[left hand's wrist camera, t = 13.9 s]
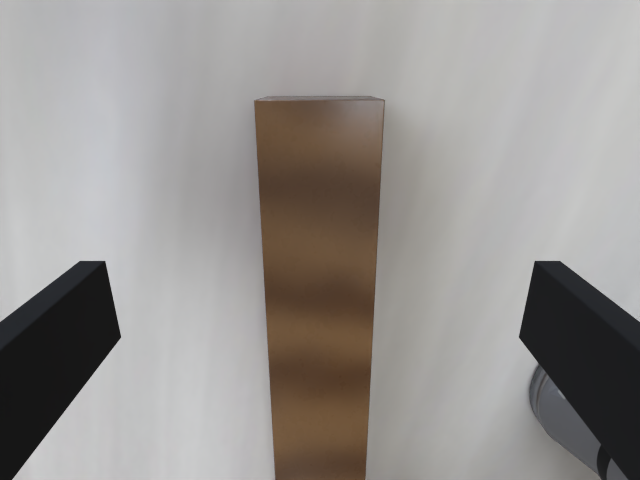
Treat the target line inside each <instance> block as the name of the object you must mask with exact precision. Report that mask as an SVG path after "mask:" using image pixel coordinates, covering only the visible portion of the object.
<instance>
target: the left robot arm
mask: <svg viewBox="0 0 640 480" xmlns="http://www.w3.org/2000/svg"><path fill="white" fill-rule="evenodd" d="M120 338H121V334H120V330H119V325H118V320H117V315H116V311H115V306H114V301H113V296H112V292H111V287H110V282H109V277H108V272H107V268H106V263H105V261H79V262H78V263H77V264H76V265H74V266H73V267H72V268H70V269H69V270H68V271H66V272H65V273H64V274H62V275H61V276H60V277H59V278H57V279H56V280H55V281H53V282H52V283H51V284H49V285H48V286H47V287H46V288H44V289H43V290H42V291H40V292H39V293H38V294H36V295H35V296H34V297H32V298H31V299H30V300H29V301H27V302H26V303H25V304H23V305H22V306H21V307H19V308H18V309H17V310H15V311H14V312H13V313H12V314H10V315H9V316H8V317H6V318H5V319H4V320H2V321H1V322H0V480H12V479H13V478H14V476H15V475H16V474H17V473H18V471H19V470H20V469H21V467H22V466H23V465H24V463H25V462H26V461H27V459H28V458H29V457H30V456H31V454H32V453H33V452H34V450H35V449H36V448H37V446H38V445H39V444H40V443H41V441H42V440H43V439H44V437H45V436H46V435H47V433H48V432H49V431H50V429H51V428H52V427H53V426H54V424H55V423H56V422H57V420H58V419H59V418H60V416H61V415H62V414H63V412H64V411H65V410H66V409H67V407H68V406H69V405H70V403H71V402H72V401H73V399H74V398H75V397H76V395H77V394H78V393H79V392H80V390H81V389H82V388H83V386H84V385H85V384H86V382H87V381H88V380H89V379H90V377H91V376H92V375H93V373H94V372H95V371H96V369H97V368H98V367H99V365H100V364H101V363H102V362H103V360H104V359H105V358H106V356H107V355H108V354H109V352H110V351H111V350H112V348H113V347H114V346H115V345H116V343H117V342H118V341H119V339H120ZM519 338H520V339H521V341H522V342H523V343H524V345H525V346H526V347H527V348H528V350H529V351H530V352H531V354H532V355H533V356H534V358H535V359H536V360H537V362H538V363H539V364H540V365H541V367H542V368H543V369H544V371H545V372H546V373H547V375H548V376H549V377H550V379H551V380H552V381H553V382H554V384H555V385H556V386H557V388H558V389H559V390H560V392H561V393H562V394H563V395H564V397H565V398H566V399H567V401H568V402H569V403H570V405H571V406H572V407H573V409H574V410H575V411H576V412H577V414H578V415H579V416H580V418H581V419H582V420H583V422H584V423H585V424H586V426H587V427H588V428H589V429H590V431H591V432H592V433H593V435H594V436H595V437H596V439H597V440H598V441H599V443H600V444H601V445H602V446H603V448H604V449H605V450H606V452H607V453H608V454H609V456H610V457H611V458H612V459H613V461H614V462H615V463H616V465H617V466H618V467H619V469H620V470H621V471H622V473H623V474H624V475H625V476H626V478H627V479H628V480H640V322H639V321H638V320H636V319H635V318H634V317H632V316H631V315H630V314H628V313H627V312H626V311H625V310H623V309H622V308H621V307H619V306H618V305H617V304H615V303H614V302H613V301H611V300H610V299H609V298H608V297H606V296H605V295H604V294H602V293H601V292H600V291H598V290H597V289H596V288H594V287H593V286H592V285H591V284H589V283H588V282H587V281H585V280H584V279H583V278H581V277H580V276H579V275H577V274H576V273H575V272H574V271H572V270H571V269H570V268H568V267H567V266H566V265H564V264H563V263H562V262H561V261H535V263H534V268H533V272H532V277H531V282H530V287H529V292H528V296H527V301H526V306H525V311H524V315H523V320H522V325H521V330H520V334H519Z"/></svg>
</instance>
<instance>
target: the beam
mask: <svg viewBox="0 0 640 480" xmlns="http://www.w3.org/2000/svg"><path fill="white" fill-rule="evenodd" d="M384 102H385V100H383V99H379V98H375V97H371V96H283V97H264V98H260V99H257V100H254V105H255V123H256V141H257V159H258V177H259V195H260V212H261V230H262V248H263V266H264V284H265V302H266V320H267V338H268V356H269V374H270V392H271V410H272V427H273V445H274V463H275V480H365V476H366V456H367V437H368V417H369V397H370V377H371V358H372V338H373V318H374V299H375V279H376V259H377V240H378V220H379V200H380V180H381V161H382V141H383V121H384Z"/></svg>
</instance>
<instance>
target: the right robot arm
mask: <svg viewBox="0 0 640 480" xmlns="http://www.w3.org/2000/svg"><path fill="white" fill-rule="evenodd" d="M530 402H531V406H532V409H533V412H534V414H535V415H536V417H537V419H538V420H539V422H540V423H541V425H542V426H543V428H544V429H545V431H546V432H547V433H548V435H549V436H550V437H551V438H553V439H554V440H555V441H556V442H558V443H559V444H560V445H562V446H563V447H564V448H565V449H567V450H568V451H569V452H570V453H572V454H573V455H574V456H576V457H577V458H578V459H579V460H581V461H582V462H583V463H584V464H586V465H587V466H588V467H589V468H591V469H592V470H593V471H594V472H596V473H597V474H598V475H599V476H600V478H601V479H602V480H628V479H627V478H626V476H625V475H624V474H623V473H622V471H621V470H620V469H619V467H618V466H617V465H616V463H615V462H614V461H613V459H612V458H611V457H610V456H609V454H608V453H607V452H606V450H605V449H604V448H603V446H602V445H601V444H600V443H599V441H598V440H597V439H596V437H595V436H594V435H593V433H592V432H591V431H590V429H589V428H588V427H587V426H586V424H585V423H584V422H583V420H582V419H581V418H580V416H579V415H578V414H577V412H576V411H575V410H574V409H573V407H572V406H571V405H570V403H569V402H568V401H567V399H566V398H565V397H564V395H563V394H562V393H561V392H560V390H559V389H558V388H557V386H556V385H555V384H554V382H553V381H552V380H551V379H550V377H549V376H548V375H547V373H546V372H545V371H544V369H543V368H542V367H541V365H540V366H539V367H538V369H537V371H536V373H535V375H534V377H533V380H532V384H531V389H530Z"/></svg>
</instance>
